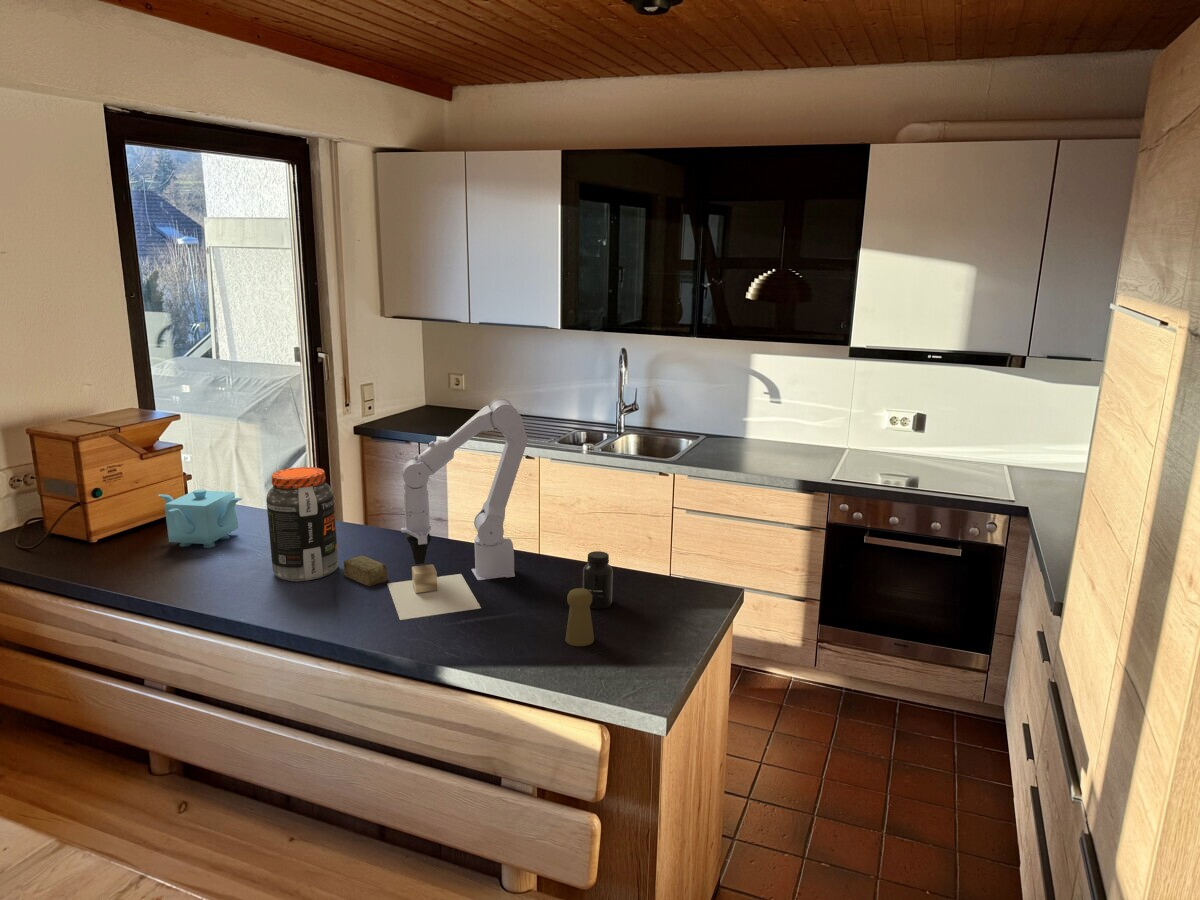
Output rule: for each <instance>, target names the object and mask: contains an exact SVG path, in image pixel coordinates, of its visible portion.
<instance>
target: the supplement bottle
mask: <svg viewBox="0 0 1200 900" xmlns="http://www.w3.org/2000/svg"><path fill="white" fill-rule="evenodd" d="M609 558H610V554H609V553H608V552H605V551H601V550H595V551H591V552H589V553H588V554H587V564H585V565H584V567H583V569H582V570H583V571H582V588H584V589H587V590H589V591H590V593H591V594H592V603H591V605H590V609H593V610H599V609H606V608H608V607H610V606H611V605H612V603H613V582H614V581H613V580H614V579H613V577H614V570H613V567H612V565H610V564H609V563H610V560H609Z"/></svg>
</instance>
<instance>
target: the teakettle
mask: <svg viewBox="0 0 1200 900" xmlns="http://www.w3.org/2000/svg"><path fill="white" fill-rule="evenodd" d="M235 493H236V492H235V491H222V490H220V491H219V490H206V489H205V488H204V489H202V488H201V489H200V488H199V489H196V490H193V491H191V492H188V493H185V494H184V495H181V496H180V497H177V498H175V499H174V497H172V496H171V495H169V494H162V493H161V494H158V497H160V498H162V499H163V500H164V501H165V502H166V503H164V512H165V521H166V527H167V535H168V543H178V544H179V547H181V548H183V547H184V548H185V547H189V546H191V545H192V544H196V545H198V544H199V545H203V548H204V549H211V548H214V547H216V541H218V540H227V539H230V538H231V536H230V535H229V534H230V533H232V532H234V531H235V530H238V529H239V524H238V514H237V511H238V510H237V503H238V502H240V501H241V500H243V498H244V497H236V495H235Z"/></svg>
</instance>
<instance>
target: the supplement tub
mask: <svg viewBox="0 0 1200 900" xmlns="http://www.w3.org/2000/svg"><path fill="white" fill-rule="evenodd" d="M271 484H272V486H271V488H270V489H269V490H268V492H267V495H266V499H265V500H266V511H267V521H268V522H267V523H268V534H269V535H268V536H269V544H270V553H271V556H270V557H271V568H272V571H273V572H272V573H274V575H275V577H278V578H279V579H281V580H283V581H289V582H304V581H305V582H306V581H313V580H316V579H320V578H323V577H326V576H329V575H331V574H332V573H334V572H335V571H336V570H337V568H338V566H339V554H338V553H339V552H338V551H339V550H338V540H337V539H338V538H337V529H336V528H337V527H336V524H337V523H336V514H335V512H336V511H335V497H334V492H333V489H332V488H331V486H330V485H329V484H328V483H327V482H326V473H325V470H324V469H323V468H319V467H314V466H313V467H311V466H299V467H298V466H297V467H290V468H285V469H281V470H278V471H277V470H276V471H275V472H273V473H272V474H271Z"/></svg>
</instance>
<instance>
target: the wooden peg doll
mask: <svg viewBox="0 0 1200 900" xmlns="http://www.w3.org/2000/svg"><path fill="white" fill-rule="evenodd" d="M566 598H567V600H566V601H567V604H568V606H569V611H568V619H567V625H566V633H565V643H567V644H568V645H570V646H574V647H586V646H589V645H591V644H593V643H594V641H595V636H594V629H593V628H594V627H593V621H592V612H591V608H590V605H591V603H592V594H591V593H590V591H589V590H587V589H584V588H583V587H580V588H578V587H577V588H573V589H571V590H570V591H569V592H568V593H567V597H566Z"/></svg>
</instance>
